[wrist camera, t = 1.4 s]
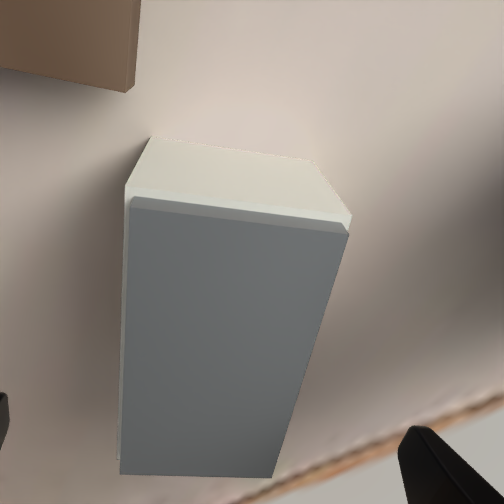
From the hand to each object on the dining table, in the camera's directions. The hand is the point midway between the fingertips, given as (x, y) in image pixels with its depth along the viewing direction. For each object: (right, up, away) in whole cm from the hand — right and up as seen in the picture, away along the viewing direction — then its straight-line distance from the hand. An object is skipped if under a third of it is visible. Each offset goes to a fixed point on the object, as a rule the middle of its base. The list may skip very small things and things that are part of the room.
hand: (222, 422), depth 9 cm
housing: (-1, +3, +6) cm, 7 cm away
